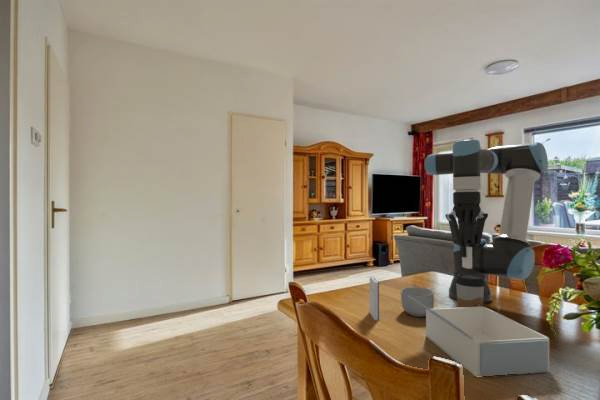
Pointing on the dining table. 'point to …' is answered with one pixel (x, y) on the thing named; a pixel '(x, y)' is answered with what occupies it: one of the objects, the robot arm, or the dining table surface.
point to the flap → (440, 317)
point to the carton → (488, 341)
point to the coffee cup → (469, 290)
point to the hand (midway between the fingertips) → (467, 267)
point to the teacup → (420, 295)
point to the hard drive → (374, 298)
